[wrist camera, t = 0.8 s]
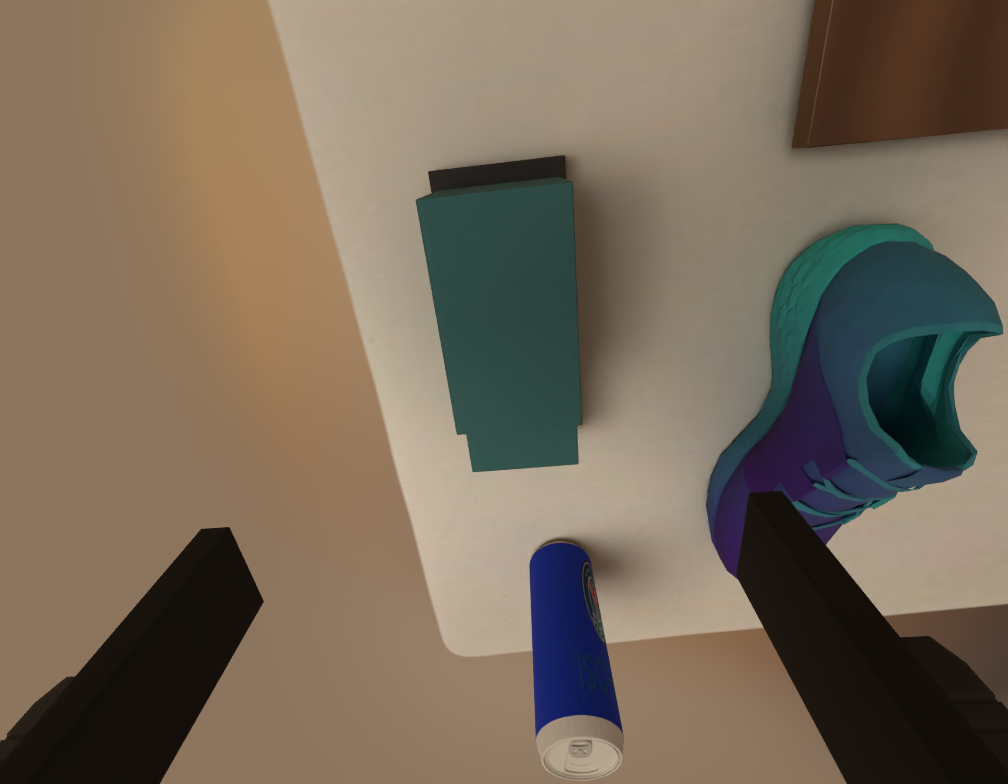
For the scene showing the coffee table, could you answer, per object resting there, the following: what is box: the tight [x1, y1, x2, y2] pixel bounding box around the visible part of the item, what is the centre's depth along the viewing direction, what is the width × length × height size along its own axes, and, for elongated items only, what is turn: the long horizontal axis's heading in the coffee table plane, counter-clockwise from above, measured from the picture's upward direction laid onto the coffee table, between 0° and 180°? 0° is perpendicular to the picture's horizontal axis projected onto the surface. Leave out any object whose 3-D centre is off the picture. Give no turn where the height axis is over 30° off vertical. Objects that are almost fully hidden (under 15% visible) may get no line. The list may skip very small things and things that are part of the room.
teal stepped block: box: [416, 155, 582, 472], centre depth 27 cm, size 18×8×8 cm, turn 6°
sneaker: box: [706, 224, 1003, 579], centre depth 28 cm, size 10×26×12 cm, turn 176°
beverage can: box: [530, 541, 624, 781], centre depth 34 cm, size 5×5×15 cm
